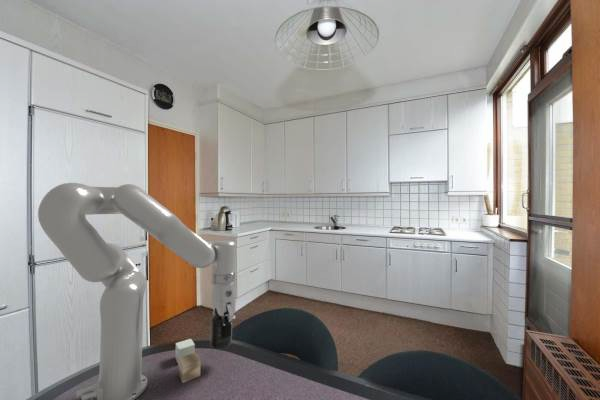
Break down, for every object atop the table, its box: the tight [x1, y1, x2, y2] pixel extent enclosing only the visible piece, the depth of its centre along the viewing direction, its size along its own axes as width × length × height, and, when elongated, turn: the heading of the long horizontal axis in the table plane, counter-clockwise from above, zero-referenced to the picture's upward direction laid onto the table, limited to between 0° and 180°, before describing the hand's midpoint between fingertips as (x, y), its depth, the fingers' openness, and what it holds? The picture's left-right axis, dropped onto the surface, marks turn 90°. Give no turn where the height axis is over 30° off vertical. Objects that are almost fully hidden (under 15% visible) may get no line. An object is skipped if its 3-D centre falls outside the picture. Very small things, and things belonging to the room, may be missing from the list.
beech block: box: [178, 352, 202, 384], centre depth 75 cm, size 5×5×5 cm
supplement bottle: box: [209, 308, 233, 350], centre depth 81 cm, size 7×7×12 cm
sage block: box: [175, 338, 196, 366], centre depth 83 cm, size 5×5×5 cm
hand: (221, 331), depth 81 cm, fingers closed on supplement bottle, 6 cm apart
